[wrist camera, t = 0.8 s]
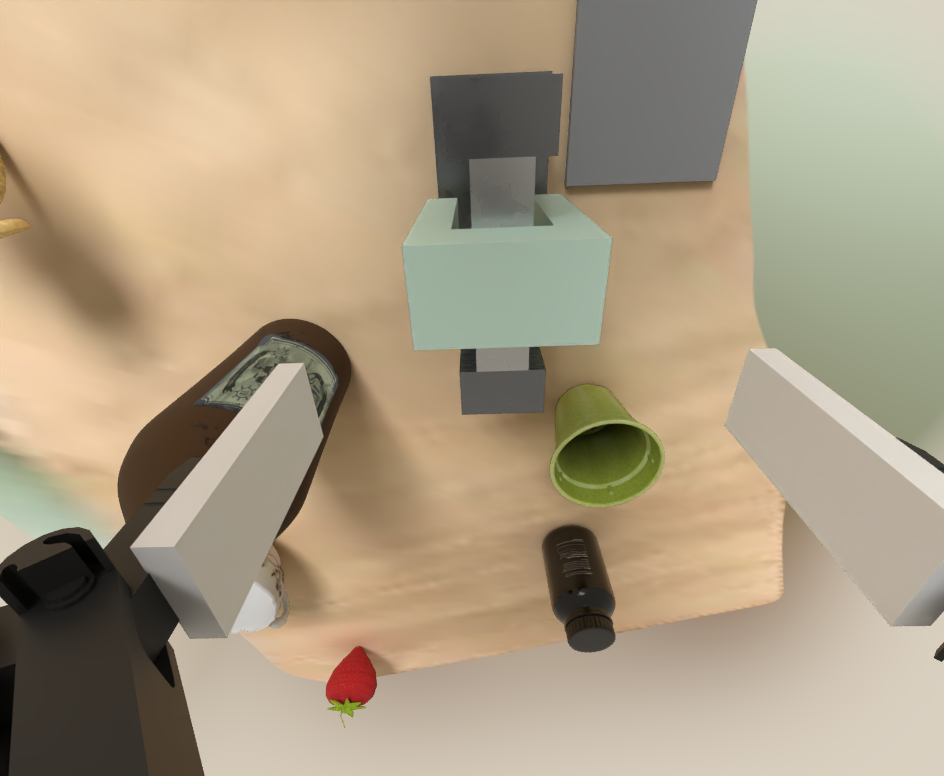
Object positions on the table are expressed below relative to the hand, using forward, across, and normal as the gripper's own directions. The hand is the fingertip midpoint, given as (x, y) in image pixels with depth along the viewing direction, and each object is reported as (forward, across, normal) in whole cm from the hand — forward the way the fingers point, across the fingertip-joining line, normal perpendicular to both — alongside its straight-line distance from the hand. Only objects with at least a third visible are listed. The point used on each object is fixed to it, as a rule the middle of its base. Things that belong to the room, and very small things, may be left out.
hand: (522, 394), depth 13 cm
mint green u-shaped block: (+21, 0, 0) cm, 21 cm away
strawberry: (+26, -21, -61) cm, 69 cm away
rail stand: (+25, 0, 0) cm, 25 cm away
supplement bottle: (+25, +9, -38) cm, 46 cm away
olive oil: (+25, -18, -12) cm, 33 cm away
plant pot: (+25, +9, -18) cm, 32 cm away
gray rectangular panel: (+25, +11, +8) cm, 28 cm away
